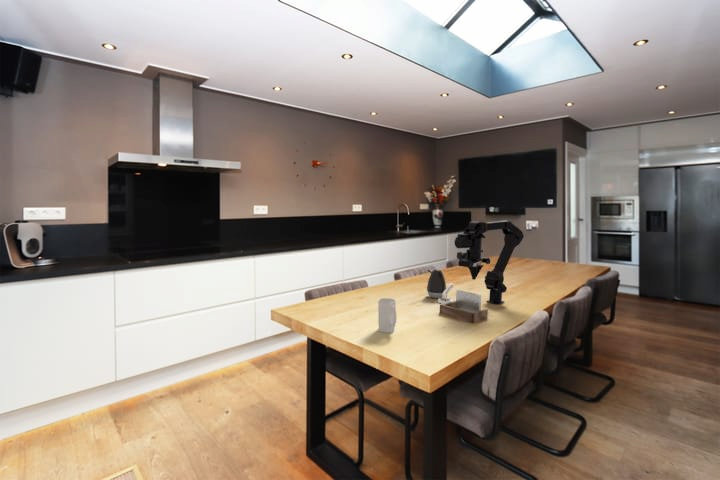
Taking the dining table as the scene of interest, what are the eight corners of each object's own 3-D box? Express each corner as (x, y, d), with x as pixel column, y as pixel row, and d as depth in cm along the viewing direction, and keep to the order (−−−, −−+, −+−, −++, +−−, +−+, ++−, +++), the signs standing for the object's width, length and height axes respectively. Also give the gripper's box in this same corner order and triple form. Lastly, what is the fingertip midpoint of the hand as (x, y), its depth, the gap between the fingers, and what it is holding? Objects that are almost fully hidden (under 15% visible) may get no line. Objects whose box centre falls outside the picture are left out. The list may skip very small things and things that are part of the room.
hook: (464, 294, 182) (454, 287, 181) (449, 312, 185) (438, 305, 183) (459, 287, 190) (449, 280, 188) (444, 305, 192) (434, 298, 190)
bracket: (457, 310, 173) (458, 289, 172) (480, 317, 163) (481, 295, 162) (446, 314, 167) (446, 292, 166) (468, 321, 158) (469, 298, 157)
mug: (374, 328, 147) (375, 299, 146) (389, 326, 150) (389, 297, 149) (387, 337, 138) (388, 305, 137) (402, 334, 141) (403, 303, 140)
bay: (454, 309, 175) (454, 300, 175) (487, 318, 162) (487, 309, 161) (439, 313, 168) (439, 304, 168) (472, 323, 155) (473, 314, 154)
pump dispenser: (431, 293, 204) (432, 266, 202) (449, 296, 198) (450, 268, 196) (422, 297, 195) (423, 269, 194) (441, 300, 189) (442, 271, 188)
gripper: (471, 244, 191) (470, 274, 192) (449, 247, 179) (448, 279, 181) (491, 246, 182) (490, 278, 184) (469, 249, 170) (467, 283, 172)
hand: (473, 279), depth 180 cm, fingers closed
